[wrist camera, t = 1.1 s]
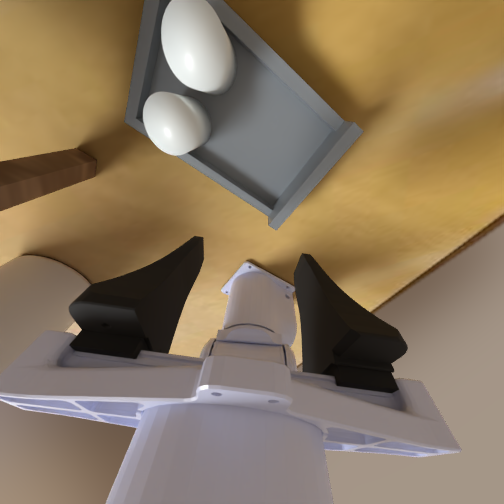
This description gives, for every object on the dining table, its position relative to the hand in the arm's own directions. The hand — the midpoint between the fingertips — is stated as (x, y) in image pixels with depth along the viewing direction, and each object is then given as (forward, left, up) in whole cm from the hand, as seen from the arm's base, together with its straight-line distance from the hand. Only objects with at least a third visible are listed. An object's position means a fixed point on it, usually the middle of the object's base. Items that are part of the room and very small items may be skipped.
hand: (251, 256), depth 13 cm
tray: (+6, -5, -10) cm, 12 cm away
